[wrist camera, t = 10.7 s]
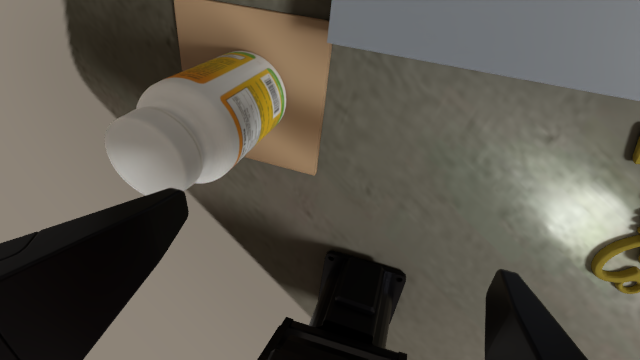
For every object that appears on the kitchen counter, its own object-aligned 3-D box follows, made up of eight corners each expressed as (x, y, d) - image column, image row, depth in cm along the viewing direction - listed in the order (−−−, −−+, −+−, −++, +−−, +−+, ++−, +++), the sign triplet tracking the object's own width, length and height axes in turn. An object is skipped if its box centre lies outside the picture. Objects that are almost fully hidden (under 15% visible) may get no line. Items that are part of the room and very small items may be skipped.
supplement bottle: (201, 96, 24) (80, 162, 16) (233, 29, 21) (101, 70, 13) (264, 145, 24) (176, 233, 16) (304, 88, 21) (219, 162, 13)
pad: (316, 172, 25) (314, 175, 24) (193, 140, 26) (190, 142, 26) (334, 21, 19) (332, 22, 19) (177, -6, 21) (173, -6, 21)
